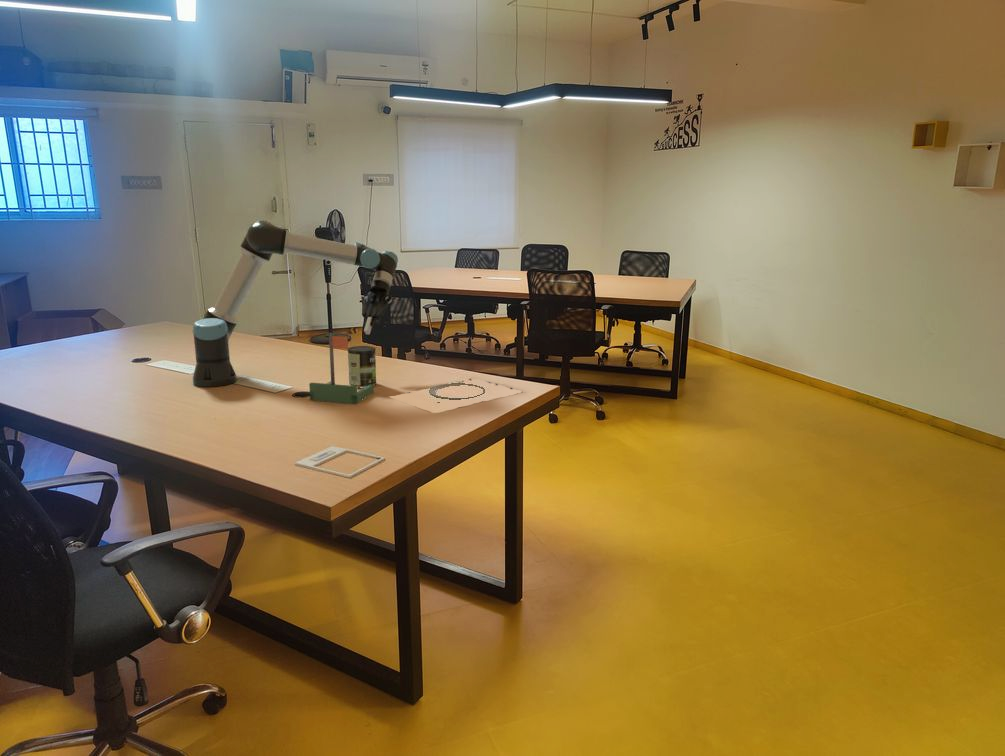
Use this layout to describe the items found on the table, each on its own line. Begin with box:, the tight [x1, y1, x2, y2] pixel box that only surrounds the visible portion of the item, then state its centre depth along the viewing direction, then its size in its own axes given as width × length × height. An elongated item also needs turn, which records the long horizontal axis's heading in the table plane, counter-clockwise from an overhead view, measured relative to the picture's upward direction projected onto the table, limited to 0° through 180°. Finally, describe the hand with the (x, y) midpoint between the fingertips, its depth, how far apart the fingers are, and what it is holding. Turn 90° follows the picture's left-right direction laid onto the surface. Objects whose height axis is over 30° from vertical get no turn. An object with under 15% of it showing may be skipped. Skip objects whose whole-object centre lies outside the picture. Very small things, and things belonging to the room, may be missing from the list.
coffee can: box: [346, 345, 377, 387], centre depth 249 cm, size 10×10×14 cm
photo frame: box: [294, 445, 386, 479], centre depth 175 cm, size 15×1×18 cm
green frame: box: [308, 332, 375, 405], centre depth 232 cm, size 16×17×24 cm
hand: (366, 332), depth 258 cm, fingers closed
